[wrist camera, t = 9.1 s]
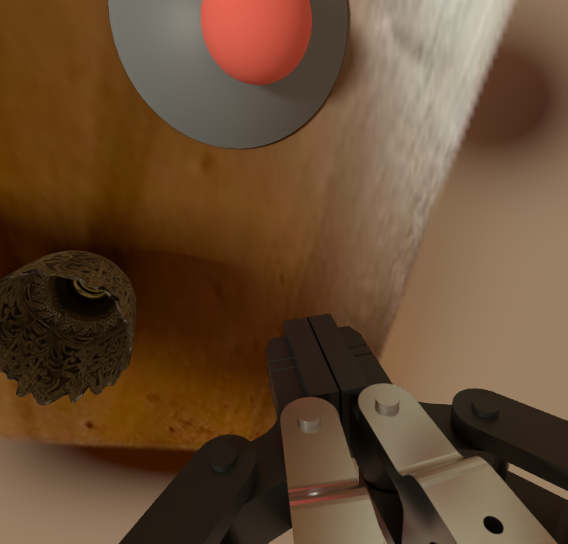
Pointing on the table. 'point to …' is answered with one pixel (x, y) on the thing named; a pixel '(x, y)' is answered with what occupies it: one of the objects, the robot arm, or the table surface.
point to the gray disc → (222, 73)
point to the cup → (66, 325)
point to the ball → (256, 36)
